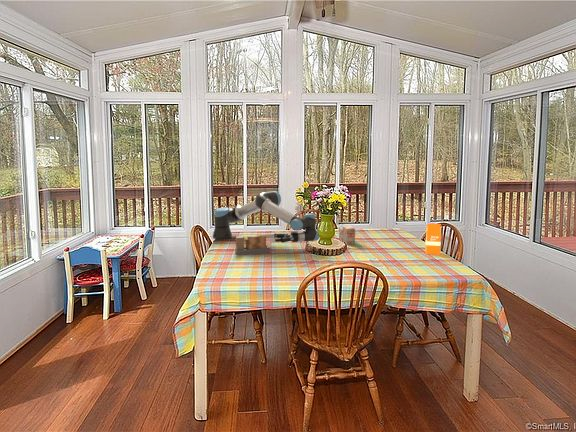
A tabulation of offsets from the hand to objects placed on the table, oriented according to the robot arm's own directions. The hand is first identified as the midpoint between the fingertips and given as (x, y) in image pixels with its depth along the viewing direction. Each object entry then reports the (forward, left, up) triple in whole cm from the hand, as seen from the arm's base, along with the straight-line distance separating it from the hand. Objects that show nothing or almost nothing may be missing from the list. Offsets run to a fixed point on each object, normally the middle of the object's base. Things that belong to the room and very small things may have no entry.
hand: (267, 238), depth 310 cm
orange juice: (+111, -1, -9) cm, 112 cm away
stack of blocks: (+56, +33, -9) cm, 66 cm away
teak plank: (-7, -2, -8) cm, 11 cm away
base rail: (-10, -3, -9) cm, 14 cm away
